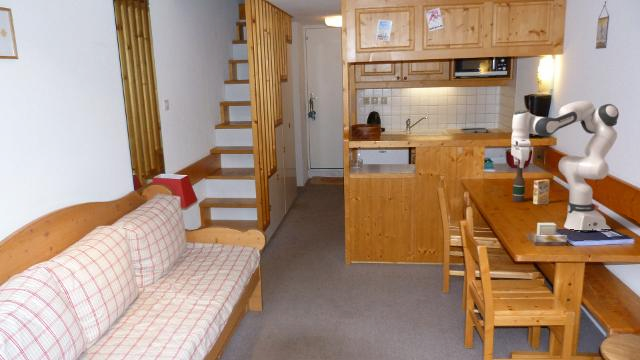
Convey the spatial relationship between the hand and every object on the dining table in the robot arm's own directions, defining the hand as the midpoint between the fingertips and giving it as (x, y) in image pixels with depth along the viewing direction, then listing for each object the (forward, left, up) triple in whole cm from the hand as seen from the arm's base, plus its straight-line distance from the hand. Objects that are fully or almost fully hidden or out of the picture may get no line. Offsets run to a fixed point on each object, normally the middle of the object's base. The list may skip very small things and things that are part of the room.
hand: (518, 166), depth 284 cm
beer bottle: (-17, -56, -34) cm, 68 cm away
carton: (-8, +26, -32) cm, 42 cm away
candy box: (-29, -49, -34) cm, 66 cm away
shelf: (-7, +26, -34) cm, 44 cm away
